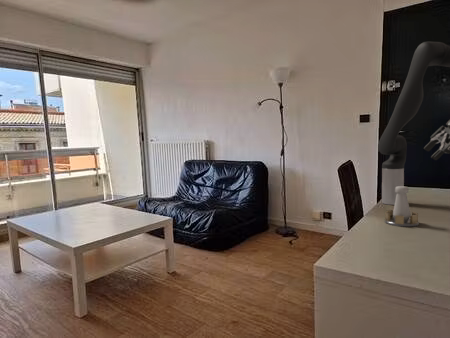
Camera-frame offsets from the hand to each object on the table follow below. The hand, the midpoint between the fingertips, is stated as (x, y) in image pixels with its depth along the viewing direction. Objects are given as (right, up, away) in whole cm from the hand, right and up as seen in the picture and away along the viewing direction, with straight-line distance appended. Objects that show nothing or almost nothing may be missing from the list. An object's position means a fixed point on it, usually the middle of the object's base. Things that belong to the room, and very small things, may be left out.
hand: (429, 154), depth 115 cm
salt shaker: (-12, -25, -2) cm, 28 cm away
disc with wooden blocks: (-12, -26, -2) cm, 29 cm away
